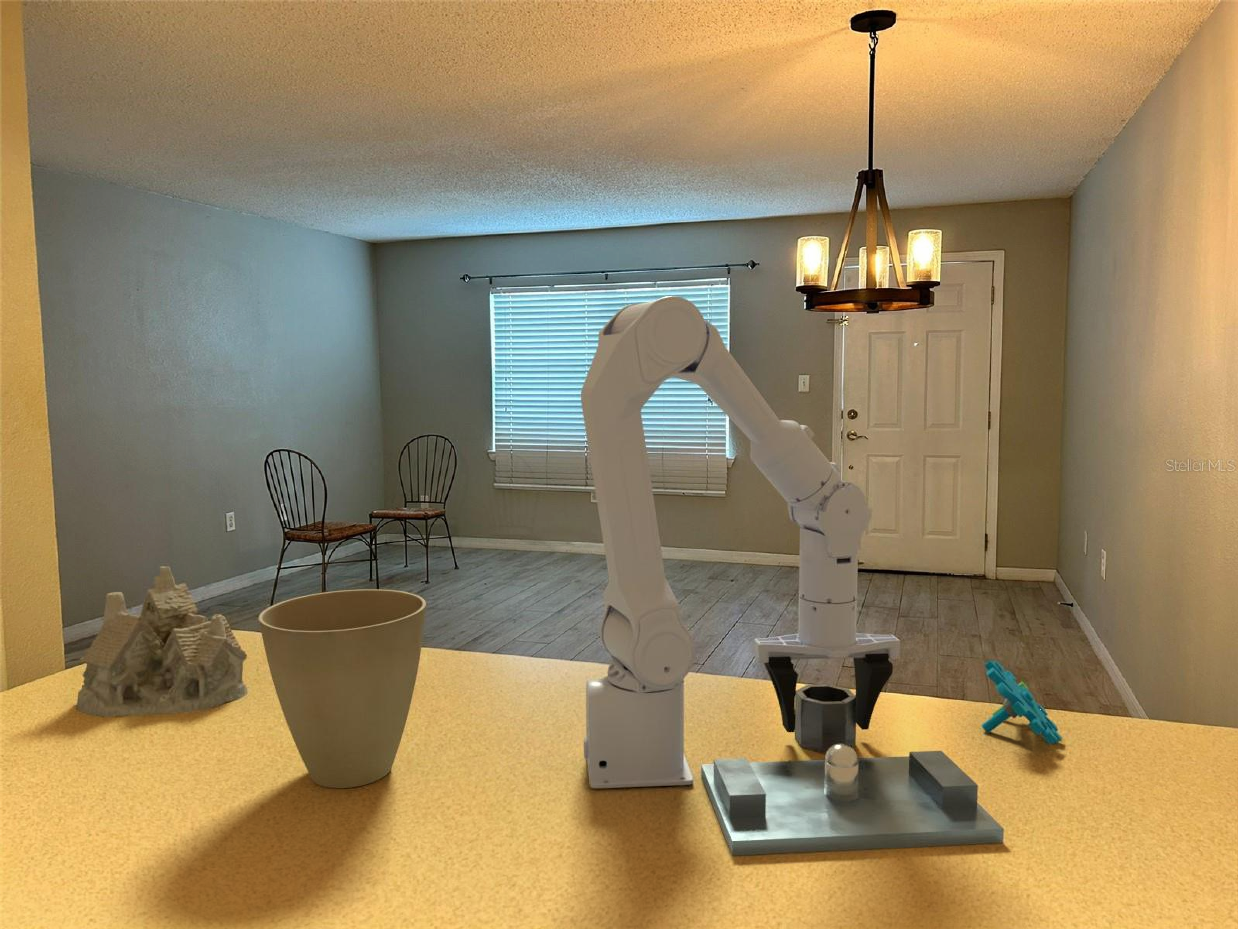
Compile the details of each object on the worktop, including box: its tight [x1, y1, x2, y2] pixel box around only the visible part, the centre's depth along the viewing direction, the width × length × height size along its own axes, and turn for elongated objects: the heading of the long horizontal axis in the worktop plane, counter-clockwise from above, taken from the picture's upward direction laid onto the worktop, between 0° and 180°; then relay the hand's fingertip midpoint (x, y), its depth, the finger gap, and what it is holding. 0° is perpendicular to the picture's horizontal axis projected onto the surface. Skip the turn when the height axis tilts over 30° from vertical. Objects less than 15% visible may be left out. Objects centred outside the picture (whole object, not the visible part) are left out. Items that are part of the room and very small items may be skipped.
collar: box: [794, 683, 857, 754], centre depth 92 cm, size 6×6×5 cm
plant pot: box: [258, 588, 427, 789], centre depth 85 cm, size 15×15×16 cm
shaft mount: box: [700, 744, 1005, 856], centre depth 78 cm, size 22×14×6 cm, turn 95°
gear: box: [981, 659, 1063, 745], centre depth 95 cm, size 11×6×10 cm
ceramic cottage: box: [76, 566, 248, 718], centre depth 105 cm, size 16×16×15 cm
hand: (825, 727), depth 92 cm, fingers open, 7 cm apart
